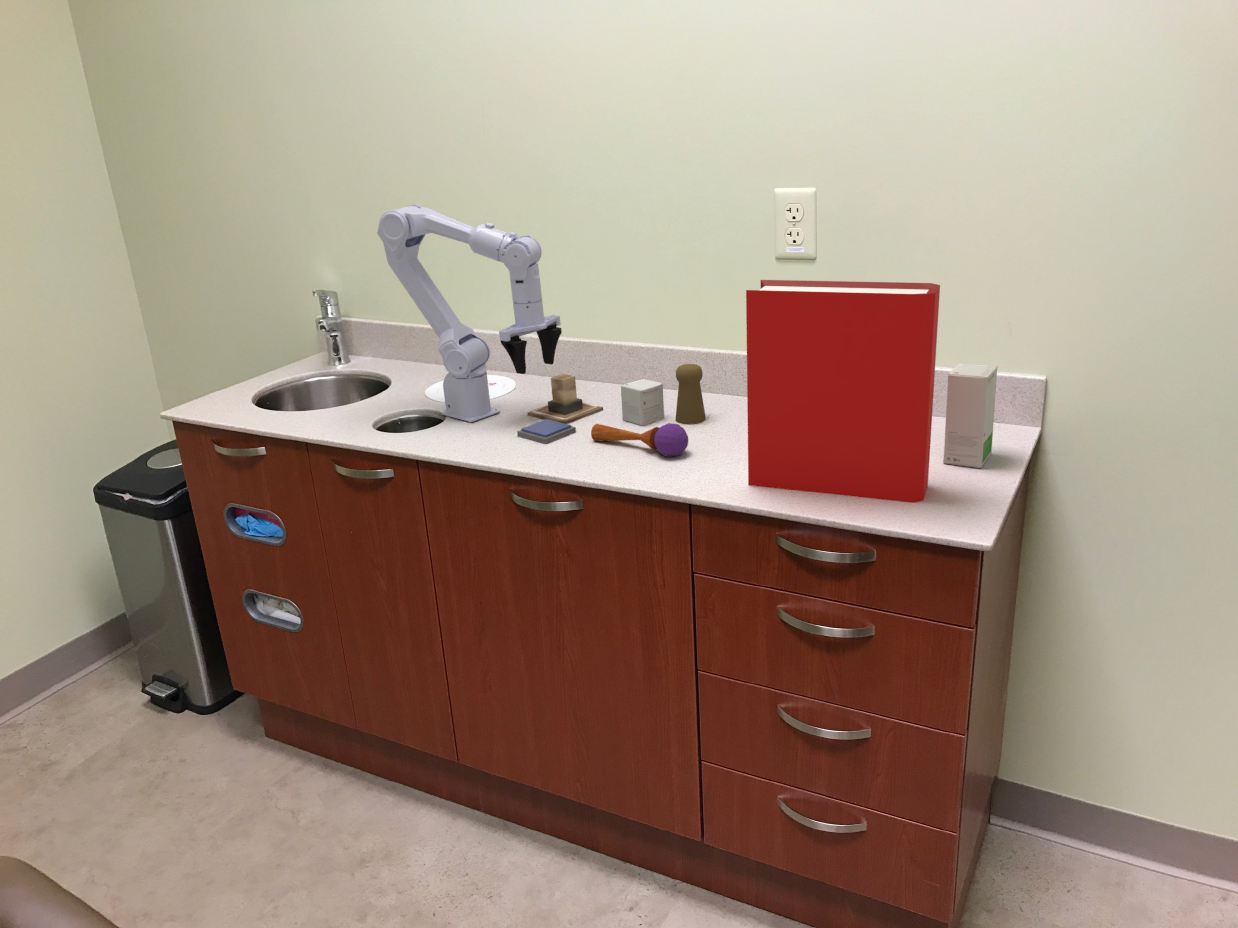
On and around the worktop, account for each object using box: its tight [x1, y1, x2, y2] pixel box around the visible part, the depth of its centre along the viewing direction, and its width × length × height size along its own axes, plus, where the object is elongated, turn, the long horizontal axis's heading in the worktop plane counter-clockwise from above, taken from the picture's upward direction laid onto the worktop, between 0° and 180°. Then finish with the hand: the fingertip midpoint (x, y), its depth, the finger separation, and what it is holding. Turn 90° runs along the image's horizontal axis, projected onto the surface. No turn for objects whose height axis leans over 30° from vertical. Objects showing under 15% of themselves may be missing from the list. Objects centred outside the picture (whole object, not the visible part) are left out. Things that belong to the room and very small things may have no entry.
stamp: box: [547, 373, 583, 415], centre depth 197 cm, size 5×5×7 cm
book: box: [745, 279, 941, 504], centre depth 149 cm, size 27×8×32 cm, turn 66°
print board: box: [526, 401, 604, 424], centre depth 198 cm, size 11×11×1 cm
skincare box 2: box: [942, 362, 998, 469], centre depth 159 cm, size 8×7×16 cm
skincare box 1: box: [620, 378, 665, 426], centre depth 190 cm, size 6×6×7 cm
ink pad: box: [516, 419, 577, 445], centre depth 186 cm, size 8×8×2 cm
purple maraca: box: [590, 422, 689, 458], centre depth 176 cm, size 6×6×20 cm
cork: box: [675, 363, 707, 425], centre depth 188 cm, size 6×6×11 cm
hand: (535, 368), depth 192 cm, fingers open, 7 cm apart
